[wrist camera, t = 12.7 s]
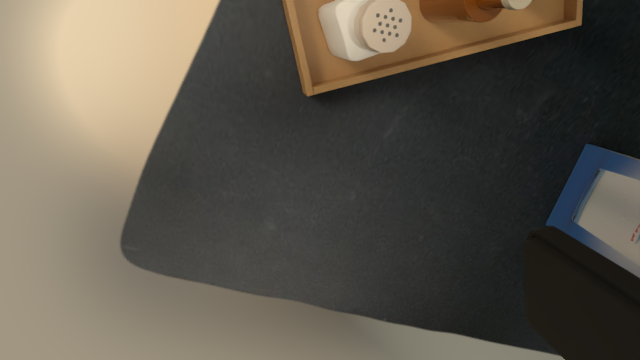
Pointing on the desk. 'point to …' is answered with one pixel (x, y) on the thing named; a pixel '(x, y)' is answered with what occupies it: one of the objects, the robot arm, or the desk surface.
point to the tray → (416, 40)
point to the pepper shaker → (364, 27)
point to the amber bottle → (467, 10)
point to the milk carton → (603, 206)
